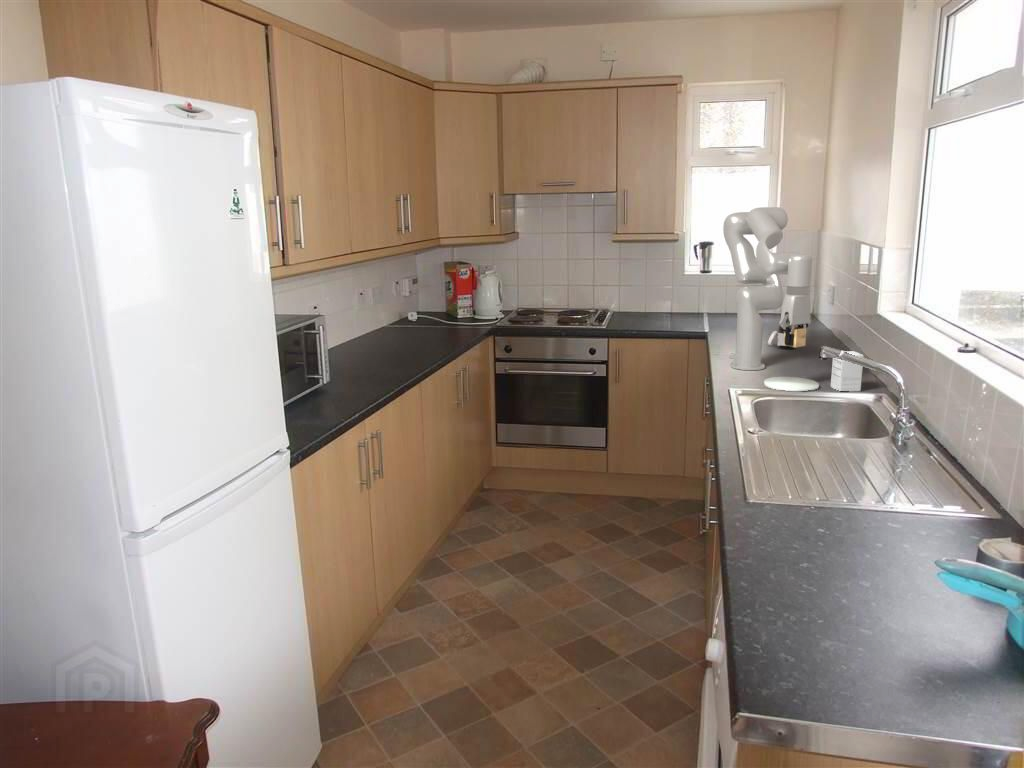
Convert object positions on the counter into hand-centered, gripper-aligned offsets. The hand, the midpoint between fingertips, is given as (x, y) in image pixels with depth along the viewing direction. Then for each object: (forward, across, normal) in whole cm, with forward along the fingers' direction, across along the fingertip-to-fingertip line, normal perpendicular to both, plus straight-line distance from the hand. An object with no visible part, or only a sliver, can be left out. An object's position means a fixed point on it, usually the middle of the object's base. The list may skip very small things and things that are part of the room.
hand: (794, 343), depth 263 cm
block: (+1, 0, 0) cm, 1 cm away
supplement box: (+15, -11, +13) cm, 23 cm away
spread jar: (+15, -54, -48) cm, 74 cm away
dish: (+15, 0, 0) cm, 15 cm away
